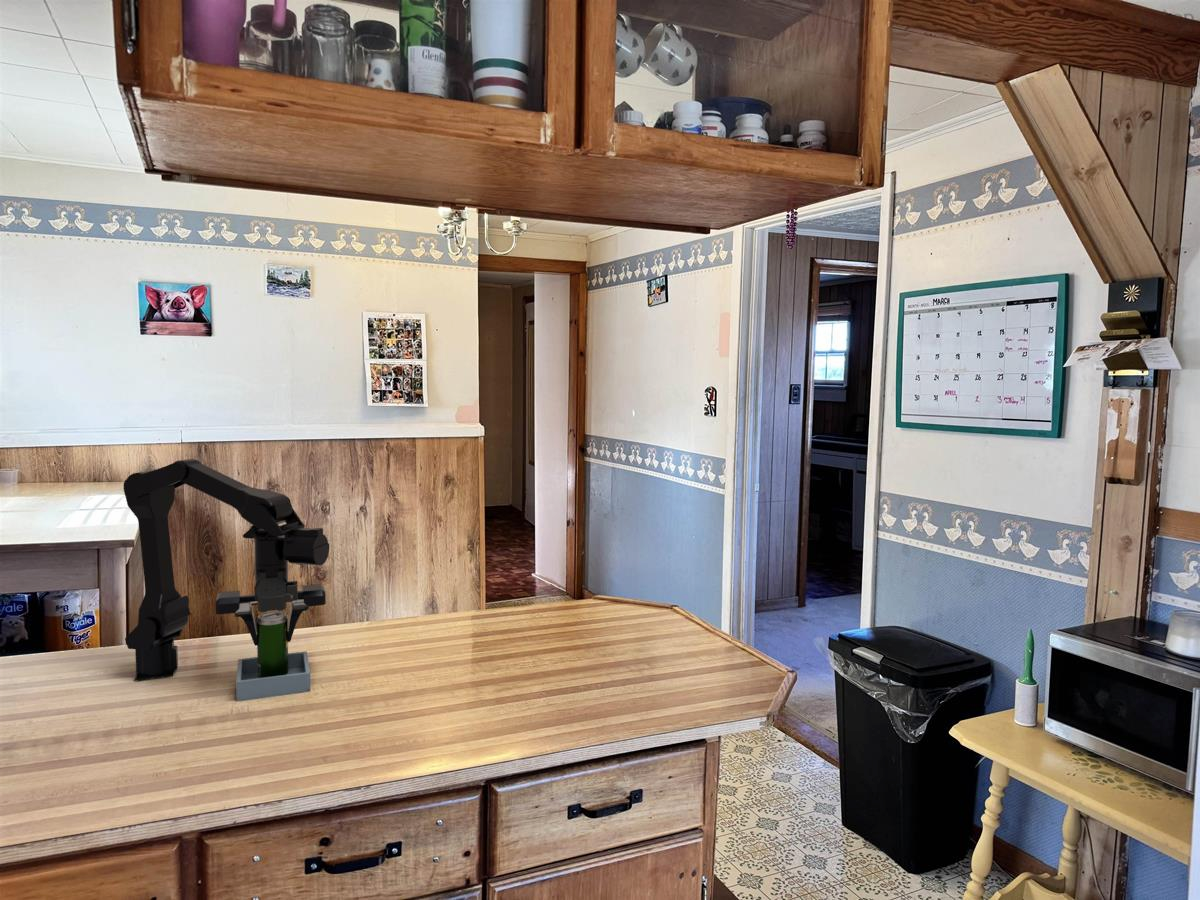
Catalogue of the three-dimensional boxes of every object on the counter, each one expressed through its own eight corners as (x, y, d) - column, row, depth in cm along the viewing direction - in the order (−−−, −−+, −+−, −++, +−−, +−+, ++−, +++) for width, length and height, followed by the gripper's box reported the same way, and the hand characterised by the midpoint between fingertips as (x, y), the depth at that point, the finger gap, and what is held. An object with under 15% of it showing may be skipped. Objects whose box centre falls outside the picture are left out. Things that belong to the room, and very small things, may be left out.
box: (236, 701, 138) (236, 682, 138) (238, 676, 150) (238, 659, 149) (310, 691, 143) (310, 673, 143) (307, 668, 155) (306, 651, 154)
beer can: (264, 685, 143) (263, 621, 141) (253, 676, 146) (252, 614, 145) (293, 677, 146) (292, 615, 145) (281, 669, 150) (280, 609, 149)
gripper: (212, 576, 133) (214, 664, 135) (327, 568, 141) (328, 651, 142) (216, 561, 143) (218, 643, 145) (323, 554, 151) (323, 632, 152)
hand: (272, 643), depth 146 cm, fingers closed on beer can, 5 cm apart
